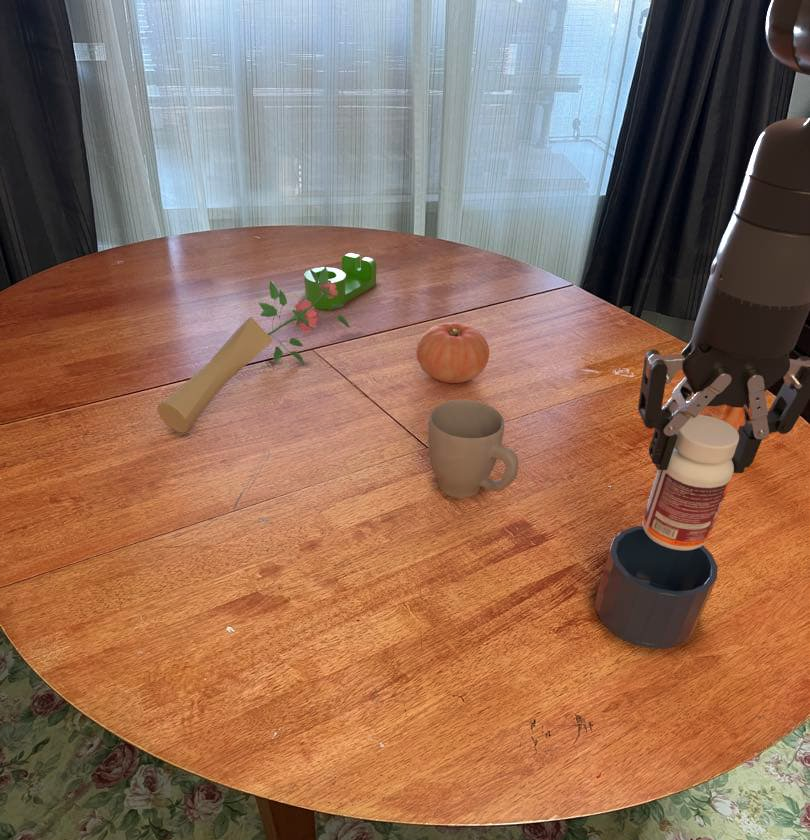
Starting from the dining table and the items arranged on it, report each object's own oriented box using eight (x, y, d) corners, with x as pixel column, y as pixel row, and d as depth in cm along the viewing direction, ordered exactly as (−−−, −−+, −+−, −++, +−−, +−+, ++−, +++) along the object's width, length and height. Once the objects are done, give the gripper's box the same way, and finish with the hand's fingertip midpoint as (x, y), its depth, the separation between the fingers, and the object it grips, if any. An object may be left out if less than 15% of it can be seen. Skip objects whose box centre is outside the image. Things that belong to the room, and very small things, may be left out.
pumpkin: (474, 357, 121) (480, 309, 116) (495, 391, 113) (502, 341, 108) (408, 361, 119) (411, 312, 114) (424, 396, 111) (427, 345, 106)
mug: (409, 485, 94) (413, 418, 88) (453, 456, 99) (460, 391, 93) (487, 528, 88) (498, 460, 82) (529, 495, 94) (542, 428, 87)
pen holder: (679, 579, 83) (699, 526, 78) (707, 651, 75) (732, 597, 71) (586, 576, 83) (601, 523, 78) (605, 647, 75) (623, 593, 70)
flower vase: (176, 464, 108) (306, 324, 126) (236, 471, 101) (365, 322, 120) (129, 396, 100) (276, 259, 119) (191, 399, 94) (336, 252, 112)
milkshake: (725, 434, 107) (750, 369, 100) (752, 454, 103) (779, 389, 96) (699, 440, 105) (722, 375, 99) (725, 461, 101) (751, 395, 95)
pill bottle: (717, 551, 70) (760, 449, 63) (654, 555, 70) (690, 452, 62) (690, 510, 75) (726, 410, 68) (630, 513, 74) (661, 412, 67)
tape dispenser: (330, 312, 131) (330, 286, 128) (297, 302, 134) (296, 276, 131) (377, 285, 141) (377, 260, 138) (345, 276, 144) (345, 251, 141)
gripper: (681, 297, 53) (625, 489, 64) (882, 306, 54) (793, 495, 65) (654, 258, 59) (607, 440, 70) (836, 266, 60) (761, 446, 70)
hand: (697, 466), depth 67 cm, fingers closed on pill bottle, 6 cm apart
